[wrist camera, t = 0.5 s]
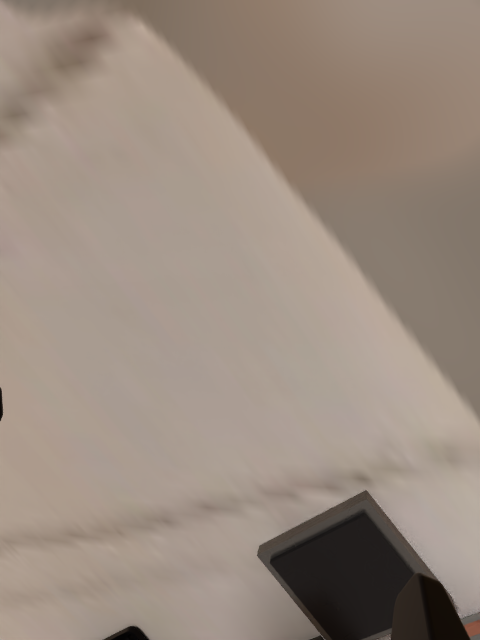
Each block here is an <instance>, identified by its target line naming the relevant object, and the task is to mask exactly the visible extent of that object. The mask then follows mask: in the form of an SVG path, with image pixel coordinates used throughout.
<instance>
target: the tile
mask: <svg viewBox="0 0 480 640" xmlns="http://www.w3.org/2000/svg"><path fill="white" fill-rule="evenodd" d="M461 621H462V623H463V625H464V627H465V629H466V631H467V633H468V635H469V637H470V639H471V640H480V612H479V613H477V614H474V615H471V616H468V617H466V618H463V619H461Z"/></svg>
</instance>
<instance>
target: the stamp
mask: <svg viewBox="0 0 480 640" xmlns="http://www.w3.org/2000/svg"><path fill="white" fill-rule="evenodd" d="M310 640H324V639H323V638H322V637H321V635H320V636H318V637H315V638H313V639H310Z"/></svg>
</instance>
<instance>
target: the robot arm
mask: <svg viewBox="0 0 480 640" xmlns="http://www.w3.org/2000/svg"><path fill="white" fill-rule="evenodd" d="M2 415H3V404H2V390H1V388H0V421H1V418H2ZM104 640H146V639H145V638H144V636H143V635H142V634H141V633H140V632H139V630H138V629H137V628H135V627H133V626H130V627H127V628H125V629H123V630H121V631H119V632H117V633H115V634H113V635H111V636H109V637H107V638H106V639H104ZM391 640H471V639H470V637H469V635H468V633H467V631H466V629H465V627H464V625H463V623H462V621H461V619H460V618H459V616H458V614H457V612H456V610H455V608H454V606H453V604H452V602H451V600H450V598H449V596H448V594H447V592H446V590H445V588H444V587H443V585H442V584H441V583H440V582H439V581H438V580H436V579H434V578H432V577H429V576H427V575H425V574H423V573H420V572H418V573H415V574H414V575H413V576H412V577H411V579H410V580H409V581H408V583H407V584H406V585H405V587H404V588H403V589H402V591H401V592H400V593H399V595H398V597H397V599H396V602H395V606H394V614H393V623H392V632H391Z"/></svg>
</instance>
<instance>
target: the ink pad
mask: <svg viewBox="0 0 480 640" xmlns="http://www.w3.org/2000/svg"><path fill="white" fill-rule="evenodd" d="M257 556H258V557H259V559H260V560H261V561H262V562H263V564H264V565H265V566H266V567H267V568H268V570H269V571H270V572H271V573H272V575H273V576H274V577H275V578H276V579H277V581H278V582H279V583H280V584H281V586H282V587H283V588H284V589H285V591H286V592H287V593H288V594H289V595H290V597H291V598H292V599H293V600H294V602H295V603H296V604H297V605H298V606H299V608H300V609H301V610H302V611H303V613H304V614H305V615H306V616H307V618H308V619H309V620H310V621H311V622H312V624H313V625H314V626H315V627H316V629H317V630H318V631H319V632H320V633H321V635H322V636H323V637H324V638H325V640H375V639H377V638H380V637H383V636H385V635H388V634H391V632H392V623H393V614H394V606H395V602H396V599H397V597H398V595H399V593H400V592H401V591H402V589H403V588H404V587H405V585H406V584H407V583H408V581H409V580H410V579H411V577H412V576H413V575H414V574H415V573H418V572H420V573H423V574H425V575H427V576H429V577H432V578H434V579H436V580H437V578H436V577H435V576H434V574H433V573H432V572H431V571H430V569H429V568H428V567H427V566H426V564H425V563H424V562H423V561H422V559H421V558H420V557H419V556H418V554H417V553H416V552H415V551H414V549H413V548H412V547H411V546H410V544H409V543H408V542H407V541H406V539H405V538H404V537H403V536H402V534H401V533H400V532H399V531H398V529H397V528H396V527H395V526H394V524H393V523H392V522H391V521H390V519H389V518H388V517H387V516H386V514H385V513H384V512H383V511H382V509H381V508H380V507H379V506H378V504H377V503H376V502H375V501H374V499H373V498H372V497H371V496H370V494H369V493H368V492H367V491H364V492H362V493H360V494H358V495H356V496H354V497H352V498H350V499H348V500H347V501H345V502H343V503H341V504H339V505H337V506H335V507H333V508H331V509H329V510H327V511H325V512H324V513H322V514H320V515H318V516H316V517H314V518H312V519H310V520H308V521H306V522H304V523H302V524H300V525H299V526H297V527H295V528H293V529H291V530H289V531H287V532H285V533H283V534H281V535H279V536H277V537H276V538H274V539H272V540H270V541H268V542H266V543H264V544H262V545H260V546H259V550H258V554H257ZM446 592H447V591H446ZM447 594H448V596H449V598H450V600H451V602H452V604H453V601H452V597H451V596H450V595H449V593H448V592H447ZM453 606H454V604H453Z"/></svg>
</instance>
